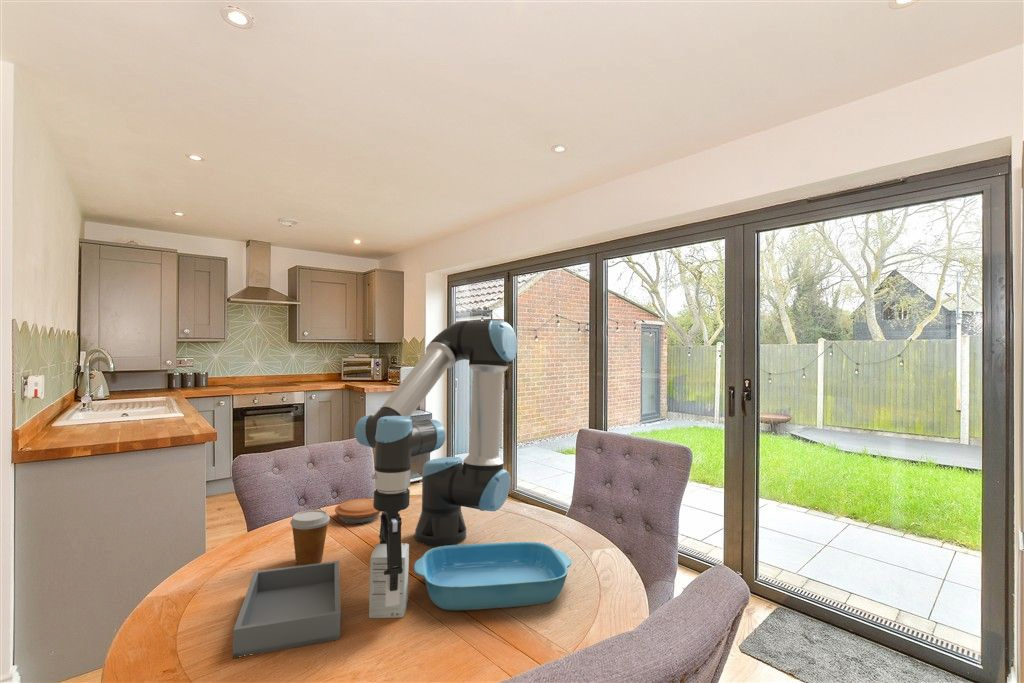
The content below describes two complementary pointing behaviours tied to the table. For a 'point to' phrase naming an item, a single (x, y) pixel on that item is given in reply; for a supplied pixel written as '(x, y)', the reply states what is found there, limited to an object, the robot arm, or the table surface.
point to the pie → (357, 511)
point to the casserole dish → (493, 574)
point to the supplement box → (379, 584)
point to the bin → (289, 609)
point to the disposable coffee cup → (309, 535)
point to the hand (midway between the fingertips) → (388, 589)
